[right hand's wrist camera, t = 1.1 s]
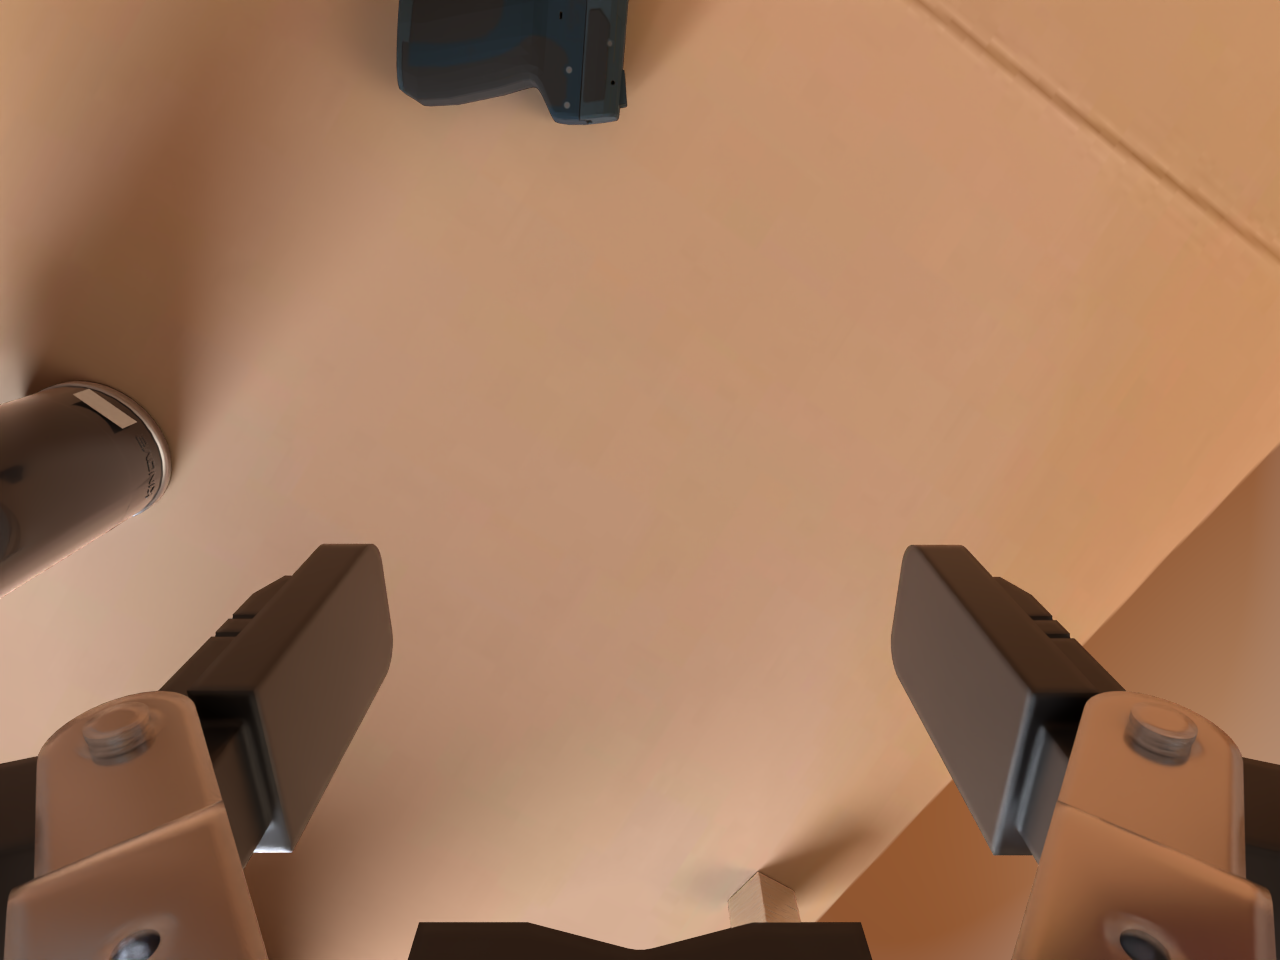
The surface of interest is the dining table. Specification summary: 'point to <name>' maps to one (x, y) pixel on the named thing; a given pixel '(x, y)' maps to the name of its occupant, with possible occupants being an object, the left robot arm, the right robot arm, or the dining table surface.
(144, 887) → the right robot arm
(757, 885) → the block
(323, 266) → the dining table surface
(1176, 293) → the dining table surface
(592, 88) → the handgun
